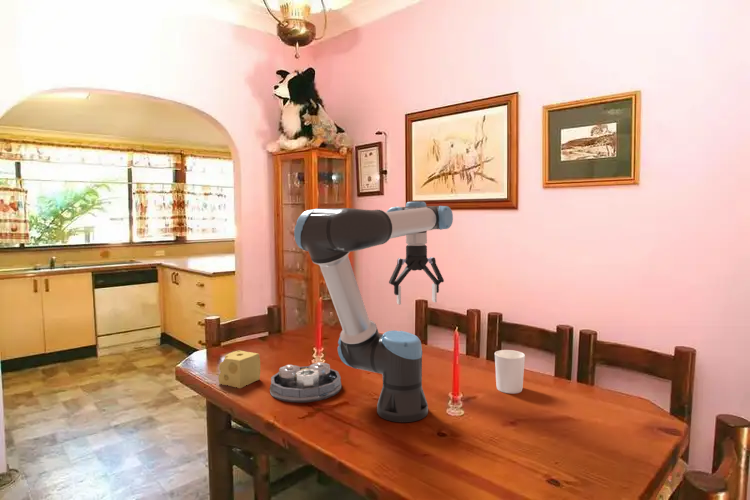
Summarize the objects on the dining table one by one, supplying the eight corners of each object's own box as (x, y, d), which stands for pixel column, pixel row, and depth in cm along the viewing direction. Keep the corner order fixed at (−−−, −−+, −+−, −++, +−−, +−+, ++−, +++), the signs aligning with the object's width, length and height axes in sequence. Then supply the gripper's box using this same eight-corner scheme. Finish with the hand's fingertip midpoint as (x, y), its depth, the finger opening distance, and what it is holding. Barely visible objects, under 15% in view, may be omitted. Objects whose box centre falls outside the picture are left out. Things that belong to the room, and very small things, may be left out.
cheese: (218, 384, 164) (217, 356, 164) (240, 375, 174) (239, 348, 173) (240, 389, 159) (239, 360, 159) (261, 379, 169) (261, 352, 168)
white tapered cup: (526, 395, 151) (526, 359, 150) (495, 393, 153) (495, 357, 152) (522, 384, 160) (523, 350, 160) (493, 383, 162) (493, 349, 162)
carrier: (347, 398, 151) (346, 375, 150) (270, 406, 145) (270, 382, 144) (335, 373, 174) (334, 354, 173) (269, 380, 168) (268, 359, 167)
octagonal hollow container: (317, 385, 158) (316, 368, 157) (319, 393, 151) (319, 375, 150) (296, 387, 156) (295, 370, 156) (298, 395, 149) (297, 377, 149)
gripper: (444, 243, 175) (444, 299, 177) (380, 244, 169) (381, 302, 171) (452, 244, 168) (452, 302, 169) (385, 246, 162) (386, 306, 163)
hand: (416, 302), depth 170 cm, fingers open, 13 cm apart
